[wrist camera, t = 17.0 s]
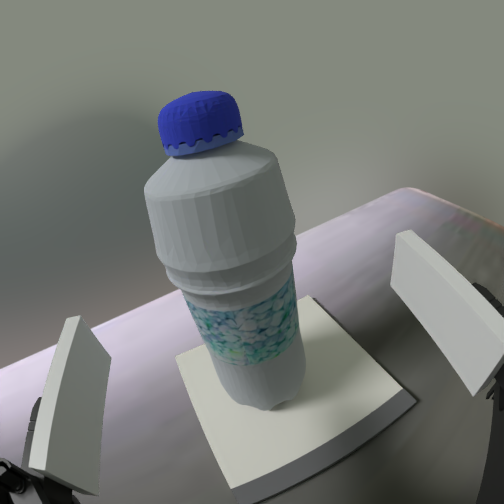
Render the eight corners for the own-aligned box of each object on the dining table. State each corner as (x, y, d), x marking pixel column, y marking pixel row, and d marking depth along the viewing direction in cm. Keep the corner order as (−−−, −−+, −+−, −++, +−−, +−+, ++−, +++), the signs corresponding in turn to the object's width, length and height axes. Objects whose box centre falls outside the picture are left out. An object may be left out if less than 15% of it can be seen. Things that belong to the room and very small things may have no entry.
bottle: (304, 343, 24) (268, 77, 13) (315, 414, 18) (281, 75, 7) (226, 353, 24) (143, 106, 14) (221, 422, 19) (79, 131, 8)
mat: (243, 508, 13) (241, 508, 13) (177, 360, 25) (174, 355, 25) (414, 405, 17) (416, 401, 17) (308, 299, 29) (308, 294, 29)
